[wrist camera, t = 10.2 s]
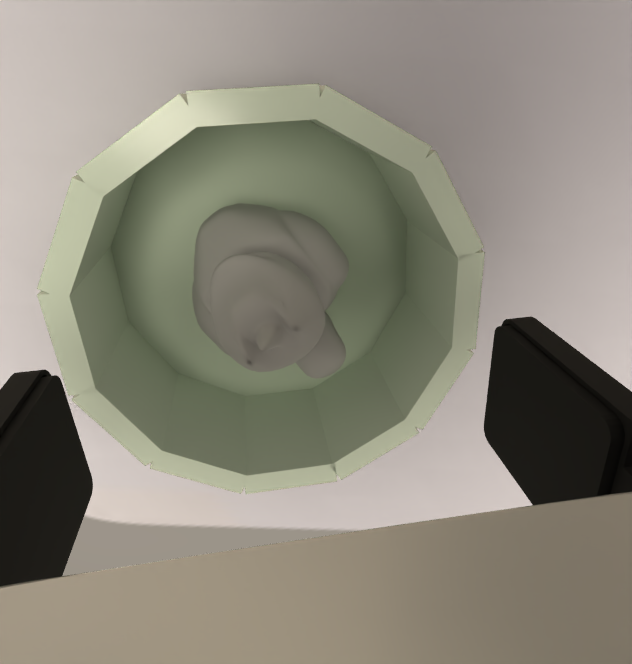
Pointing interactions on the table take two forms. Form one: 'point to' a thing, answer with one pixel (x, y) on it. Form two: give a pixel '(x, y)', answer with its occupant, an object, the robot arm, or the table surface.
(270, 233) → the rubber duck
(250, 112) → the pale green bowl
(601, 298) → the table surface
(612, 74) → the table surface
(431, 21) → the table surface
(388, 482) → the table surface
